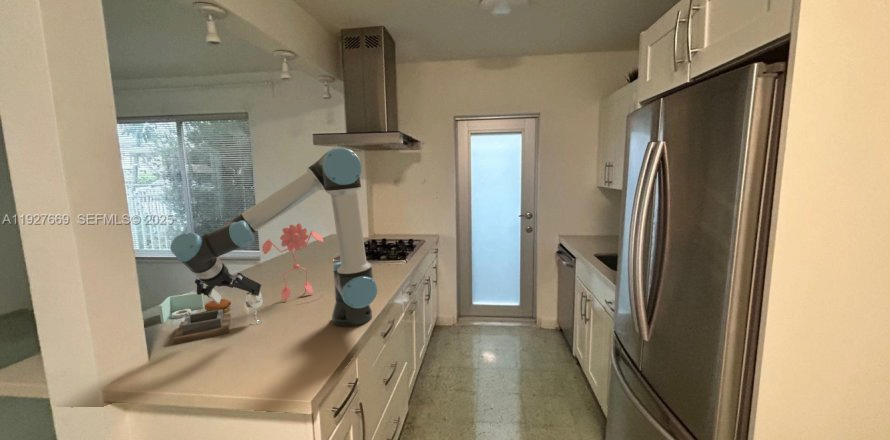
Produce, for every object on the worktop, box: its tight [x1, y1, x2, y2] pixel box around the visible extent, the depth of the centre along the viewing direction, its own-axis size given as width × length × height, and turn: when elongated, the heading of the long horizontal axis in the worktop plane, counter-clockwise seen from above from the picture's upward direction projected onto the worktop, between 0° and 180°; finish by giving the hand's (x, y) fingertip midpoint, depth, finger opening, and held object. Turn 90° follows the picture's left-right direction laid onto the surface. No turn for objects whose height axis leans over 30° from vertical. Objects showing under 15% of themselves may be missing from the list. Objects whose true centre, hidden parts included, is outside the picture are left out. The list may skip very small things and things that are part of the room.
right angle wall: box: [158, 292, 205, 324], centre depth 145 cm, size 12×12×8 cm
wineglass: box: [245, 291, 264, 326], centre depth 135 cm, size 6×6×12 cm
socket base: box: [173, 309, 232, 345], centre depth 130 cm, size 16×16×5 cm
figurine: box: [261, 222, 325, 306], centre depth 157 cm, size 15×26×35 cm, turn 131°
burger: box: [204, 298, 232, 314], centre depth 148 cm, size 10×9×5 cm
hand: (239, 299), depth 125 cm, fingers open, 13 cm apart
